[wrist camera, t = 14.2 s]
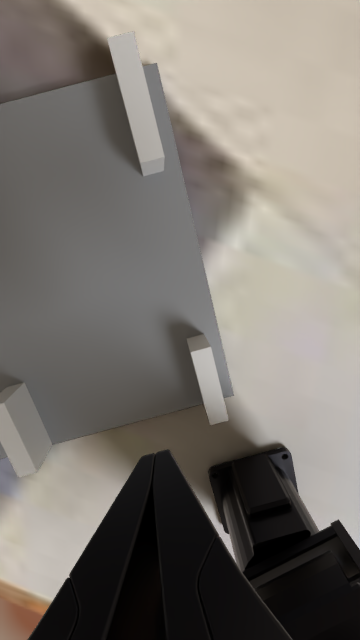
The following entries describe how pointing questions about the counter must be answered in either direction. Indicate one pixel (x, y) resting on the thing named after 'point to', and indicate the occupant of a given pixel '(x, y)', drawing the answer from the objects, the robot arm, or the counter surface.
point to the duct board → (99, 266)
